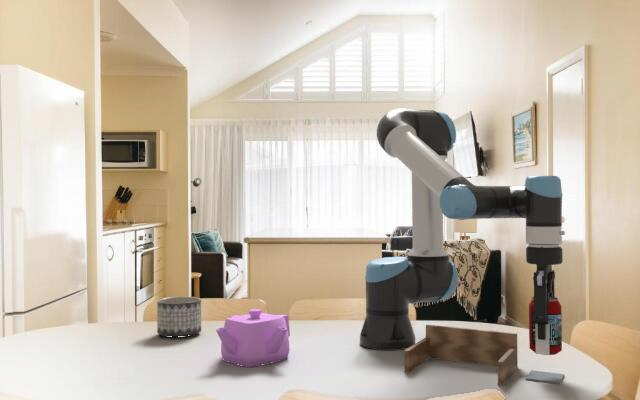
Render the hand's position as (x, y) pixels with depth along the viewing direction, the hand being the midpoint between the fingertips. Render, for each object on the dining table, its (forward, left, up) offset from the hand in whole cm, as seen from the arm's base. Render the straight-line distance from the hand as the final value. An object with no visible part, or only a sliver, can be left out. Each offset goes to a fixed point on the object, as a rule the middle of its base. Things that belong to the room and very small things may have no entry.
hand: (545, 350), depth 135 cm
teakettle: (-66, -16, -7) cm, 68 cm away
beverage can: (0, 0, -1) cm, 1 cm away
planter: (-102, -3, -6) cm, 102 cm away
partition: (-18, -2, -6) cm, 19 cm away
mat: (0, 0, -6) cm, 6 cm away
